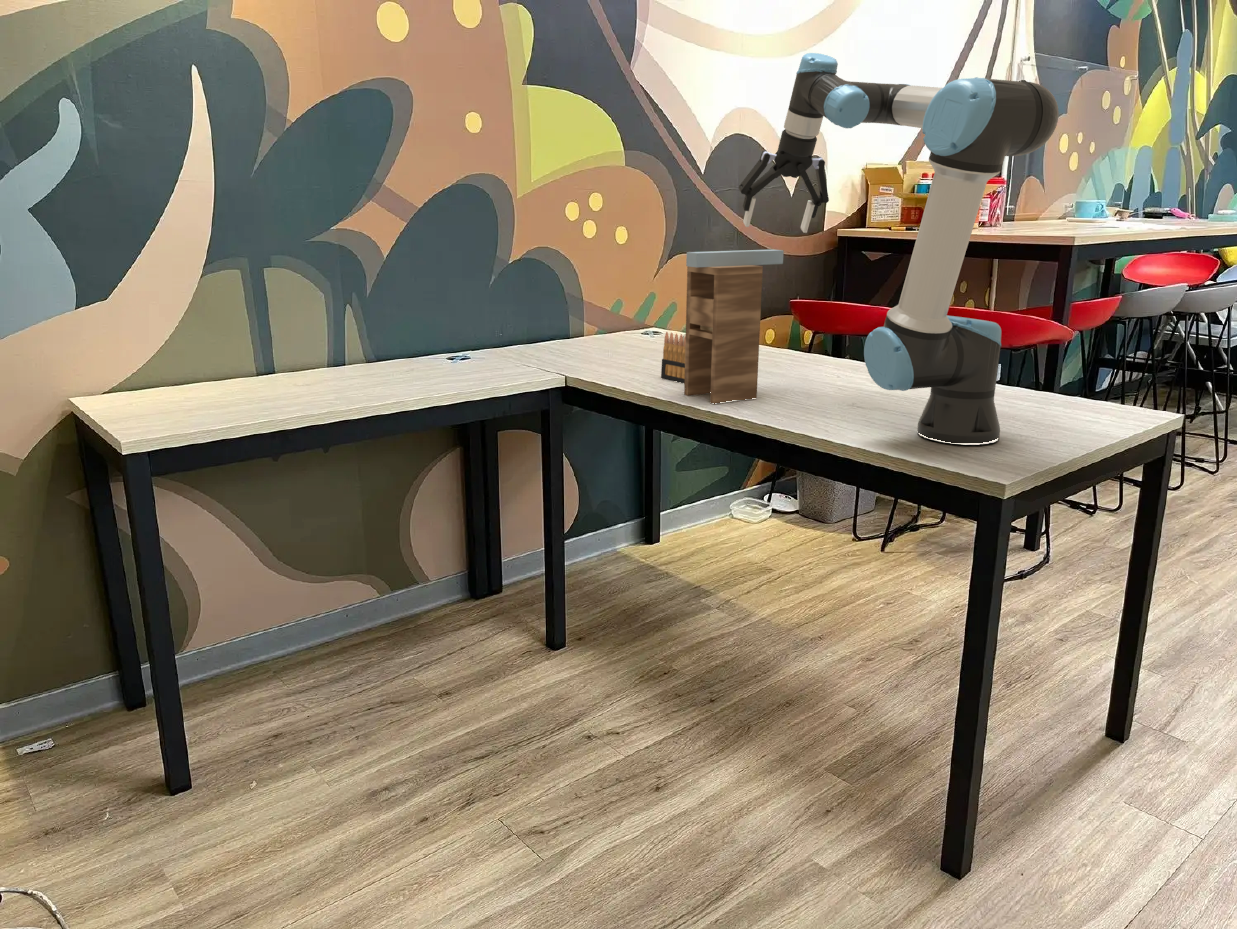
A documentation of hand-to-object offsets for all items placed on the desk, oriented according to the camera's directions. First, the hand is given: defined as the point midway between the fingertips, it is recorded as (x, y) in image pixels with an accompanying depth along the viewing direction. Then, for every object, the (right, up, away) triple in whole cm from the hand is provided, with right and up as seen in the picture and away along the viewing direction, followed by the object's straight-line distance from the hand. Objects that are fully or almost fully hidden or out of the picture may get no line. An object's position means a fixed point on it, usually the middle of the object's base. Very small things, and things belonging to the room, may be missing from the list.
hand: (774, 227), depth 209 cm
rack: (-11, -37, +8) cm, 40 cm away
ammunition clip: (-20, -32, +26) cm, 46 cm away
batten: (-9, -8, +1) cm, 12 cm away
